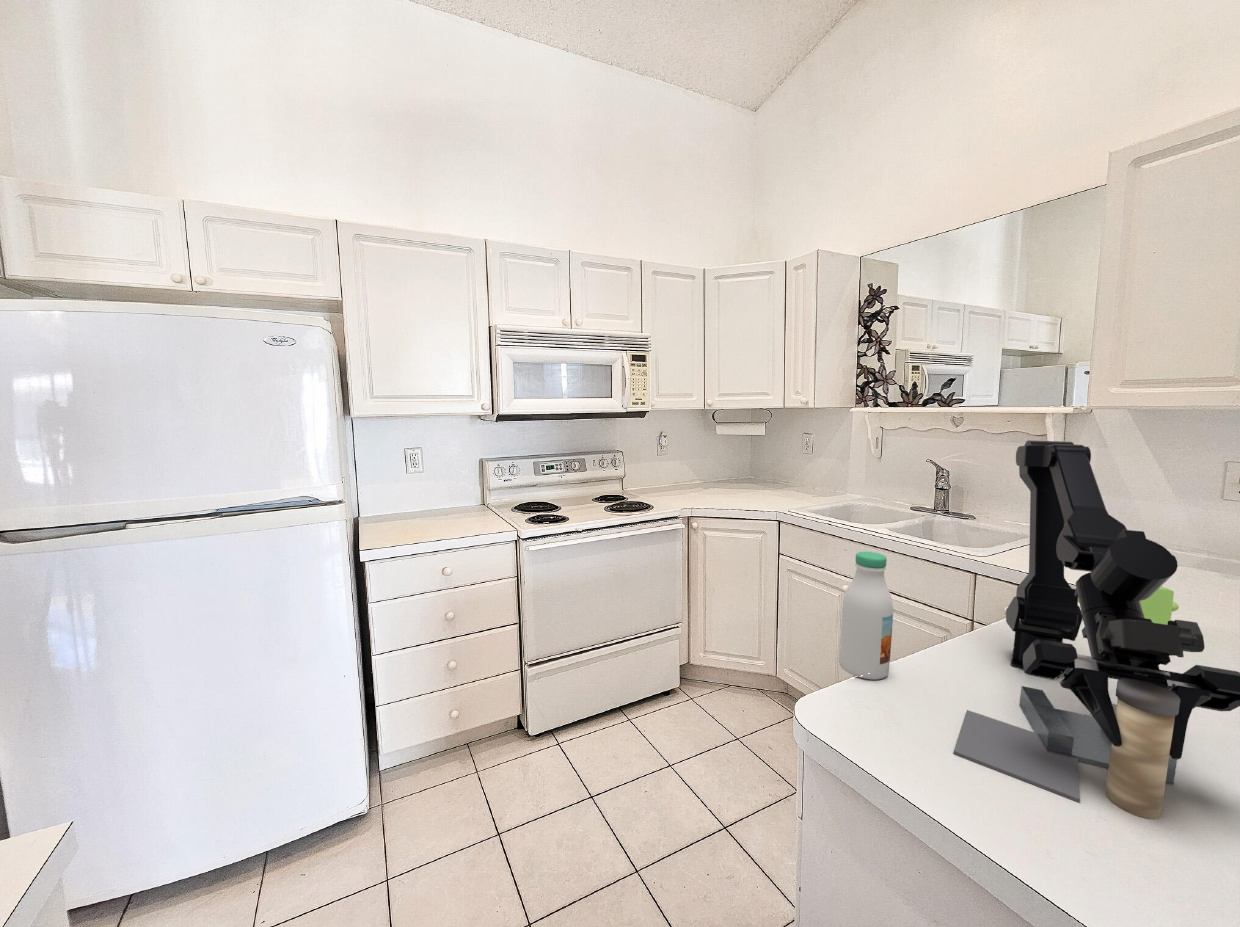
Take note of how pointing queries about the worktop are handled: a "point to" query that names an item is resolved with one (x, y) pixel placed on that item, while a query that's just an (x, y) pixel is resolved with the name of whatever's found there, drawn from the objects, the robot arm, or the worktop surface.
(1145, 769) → the plug
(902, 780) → the worktop surface
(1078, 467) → the robot arm
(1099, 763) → the grey bracket
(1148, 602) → the gearbox
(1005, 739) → the pad
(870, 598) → the milk bottle
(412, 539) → the worktop surface
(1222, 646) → the worktop surface
